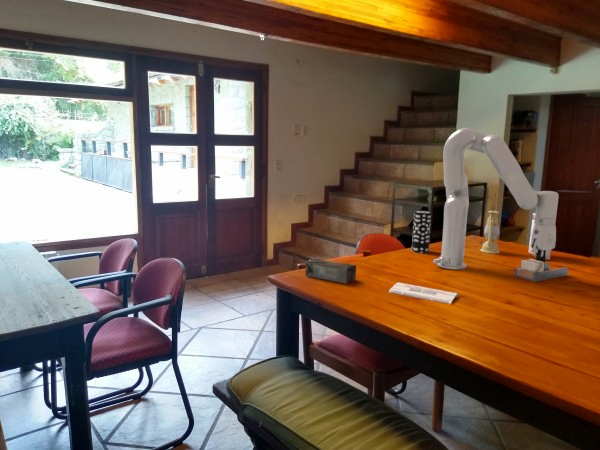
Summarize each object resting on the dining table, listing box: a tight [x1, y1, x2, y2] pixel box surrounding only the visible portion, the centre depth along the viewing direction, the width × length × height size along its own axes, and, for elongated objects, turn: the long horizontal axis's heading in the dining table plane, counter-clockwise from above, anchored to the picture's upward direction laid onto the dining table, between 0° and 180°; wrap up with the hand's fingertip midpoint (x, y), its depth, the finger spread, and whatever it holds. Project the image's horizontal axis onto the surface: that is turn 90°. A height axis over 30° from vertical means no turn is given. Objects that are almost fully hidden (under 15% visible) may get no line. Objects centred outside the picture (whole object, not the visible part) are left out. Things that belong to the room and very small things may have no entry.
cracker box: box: [527, 212, 552, 261], centre depth 222 cm, size 14×6×21 cm, turn 171°
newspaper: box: [388, 282, 459, 305], centre depth 163 cm, size 23×12×2 cm, turn 59°
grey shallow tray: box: [513, 262, 569, 283], centre depth 189 cm, size 22×9×3 cm, turn 119°
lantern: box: [479, 193, 500, 255], centre depth 230 cm, size 12×10×30 cm
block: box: [520, 258, 544, 273], centre depth 186 cm, size 6×6×6 cm
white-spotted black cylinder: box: [411, 210, 432, 254], centre depth 228 cm, size 8×8×20 cm
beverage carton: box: [304, 258, 357, 285], centre depth 180 cm, size 8×19×7 cm, turn 57°
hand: (539, 265), depth 188 cm, fingers closed
